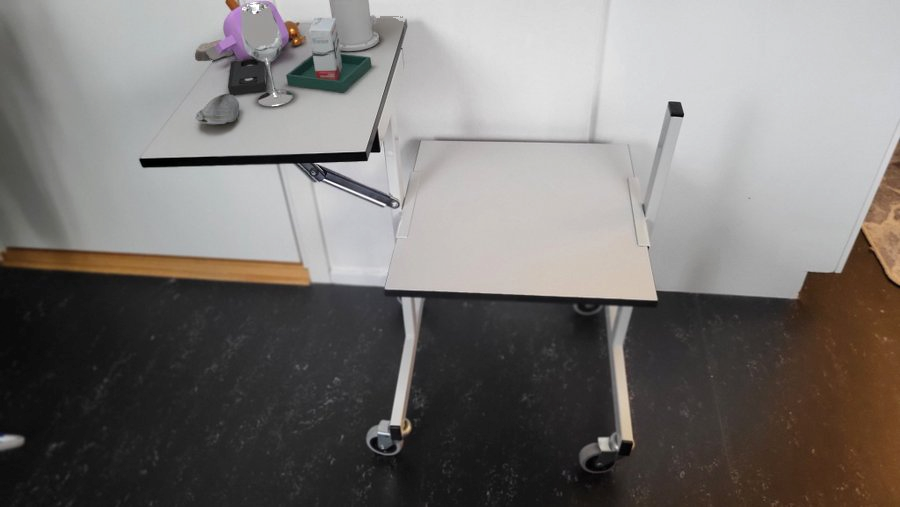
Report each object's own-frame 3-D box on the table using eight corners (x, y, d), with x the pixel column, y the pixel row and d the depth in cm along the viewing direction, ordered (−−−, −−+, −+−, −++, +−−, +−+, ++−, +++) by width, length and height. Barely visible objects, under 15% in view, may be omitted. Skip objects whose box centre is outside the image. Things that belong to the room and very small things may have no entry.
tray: (318, 61, 161) (317, 51, 159) (371, 67, 156) (370, 57, 155) (288, 85, 150) (285, 75, 149) (343, 92, 146) (341, 82, 145)
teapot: (213, 11, 148) (197, 29, 158) (242, 63, 151) (224, 78, 161) (286, -15, 158) (266, 4, 169) (311, 35, 162) (290, 51, 172)
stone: (201, 65, 162) (197, 51, 160) (194, 60, 165) (189, 46, 162) (245, 50, 167) (242, 37, 165) (237, 46, 170) (233, 32, 168)
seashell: (214, 107, 143) (208, 85, 140) (250, 108, 142) (245, 86, 139) (190, 134, 134) (183, 111, 131) (229, 135, 133) (222, 112, 130)
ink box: (338, 81, 150) (330, 30, 142) (316, 82, 150) (307, 30, 142) (343, 66, 156) (336, 16, 149) (322, 67, 156) (314, 16, 149)
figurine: (284, 54, 167) (320, 35, 171) (279, 41, 164) (315, 22, 168) (262, 43, 174) (297, 25, 178) (257, 31, 172) (292, 12, 176)
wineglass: (289, 106, 142) (269, 12, 129) (253, 107, 142) (230, 14, 130) (296, 90, 148) (278, -1, 135) (262, 91, 148) (240, 0, 136)
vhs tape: (266, 90, 148) (264, 82, 147) (230, 95, 147) (227, 86, 146) (266, 65, 159) (264, 57, 158) (233, 69, 158) (230, 61, 157)
